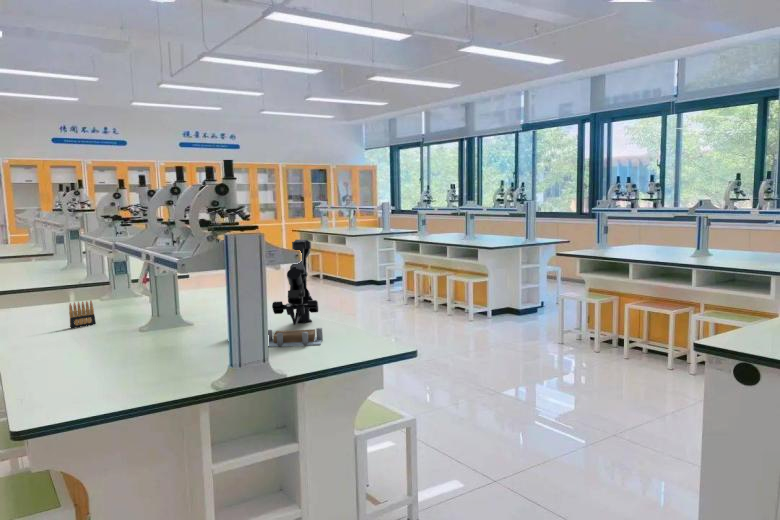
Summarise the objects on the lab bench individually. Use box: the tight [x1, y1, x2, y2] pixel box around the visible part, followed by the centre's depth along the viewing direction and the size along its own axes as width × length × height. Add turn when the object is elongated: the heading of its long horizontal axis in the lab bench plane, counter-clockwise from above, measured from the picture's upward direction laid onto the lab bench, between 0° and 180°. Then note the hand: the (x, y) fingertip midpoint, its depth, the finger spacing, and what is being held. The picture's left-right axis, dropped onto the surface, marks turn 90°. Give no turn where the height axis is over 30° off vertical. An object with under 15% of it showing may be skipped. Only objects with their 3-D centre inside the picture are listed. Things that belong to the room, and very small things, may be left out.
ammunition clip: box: [68, 300, 97, 329], centre depth 273 cm, size 11×2×12 cm, turn 129°
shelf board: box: [272, 328, 316, 343], centre depth 236 cm, size 3×16×8 cm
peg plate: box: [267, 327, 324, 348], centre depth 234 cm, size 10×23×5 cm, turn 92°
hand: (294, 324), depth 237 cm, fingers closed
